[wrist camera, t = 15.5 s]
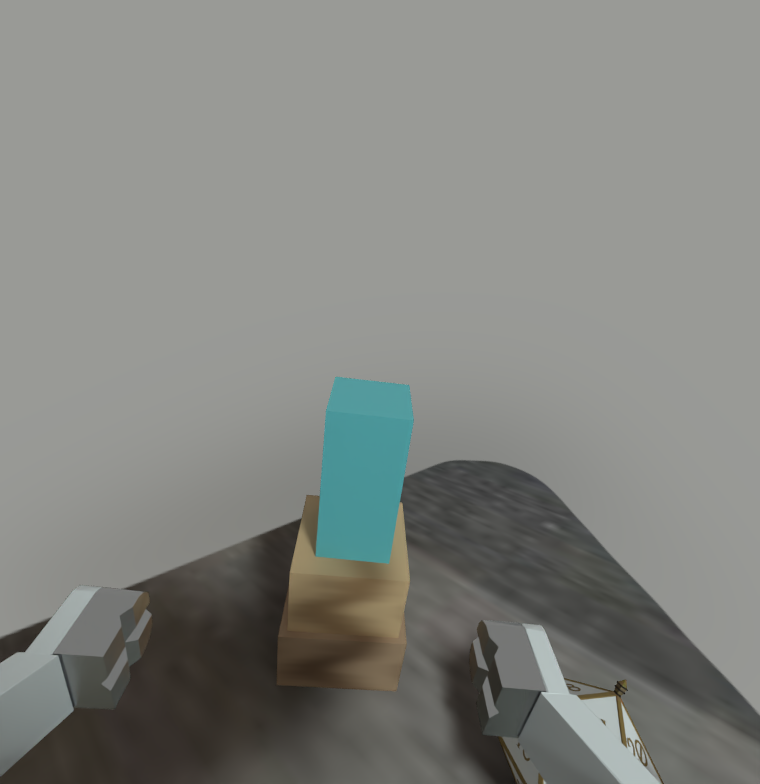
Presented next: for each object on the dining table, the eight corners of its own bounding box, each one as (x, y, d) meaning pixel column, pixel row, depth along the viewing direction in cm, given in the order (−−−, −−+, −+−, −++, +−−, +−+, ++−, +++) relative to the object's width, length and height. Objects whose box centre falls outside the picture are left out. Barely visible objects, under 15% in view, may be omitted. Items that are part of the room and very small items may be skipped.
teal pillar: (315, 556, 26) (326, 410, 21) (325, 507, 30) (335, 376, 26) (389, 563, 26) (413, 420, 22) (388, 513, 30) (409, 385, 26)
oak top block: (287, 630, 26) (289, 572, 24) (303, 546, 33) (306, 494, 31) (398, 637, 27) (410, 581, 25) (393, 553, 33) (402, 502, 31)
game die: (541, 791, 28) (624, 659, 28) (647, 979, 19) (762, 788, 20) (434, 736, 26) (524, 597, 26) (499, 918, 17) (629, 709, 18)
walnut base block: (276, 686, 28) (277, 636, 26) (295, 585, 35) (298, 540, 33) (395, 692, 29) (406, 644, 27) (390, 592, 36) (398, 548, 34)
